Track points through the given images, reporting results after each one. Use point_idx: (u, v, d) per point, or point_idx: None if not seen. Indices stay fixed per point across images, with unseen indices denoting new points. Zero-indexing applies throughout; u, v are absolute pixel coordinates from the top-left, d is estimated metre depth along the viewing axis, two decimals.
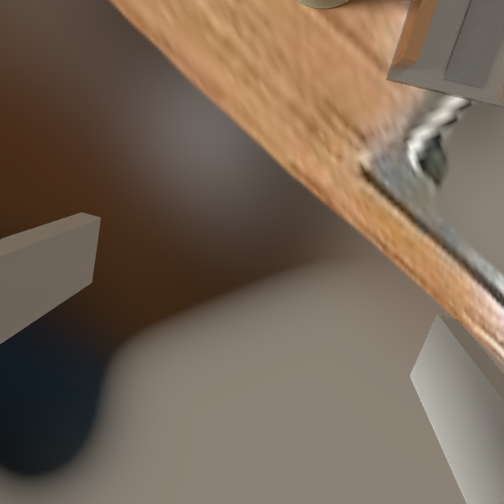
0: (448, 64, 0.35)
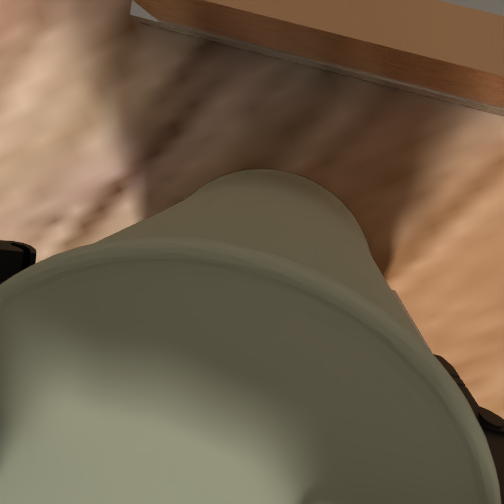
0: None
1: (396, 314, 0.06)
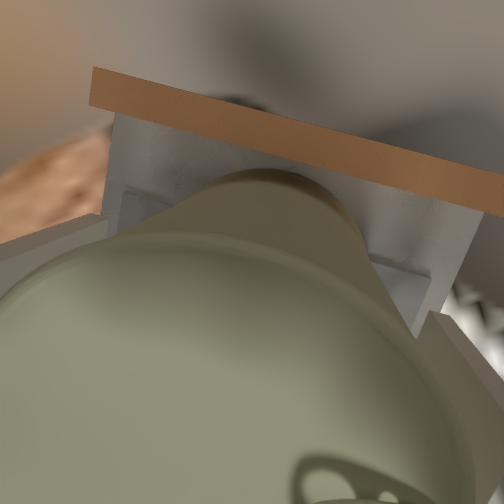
0: None
1: (382, 301, 0.06)
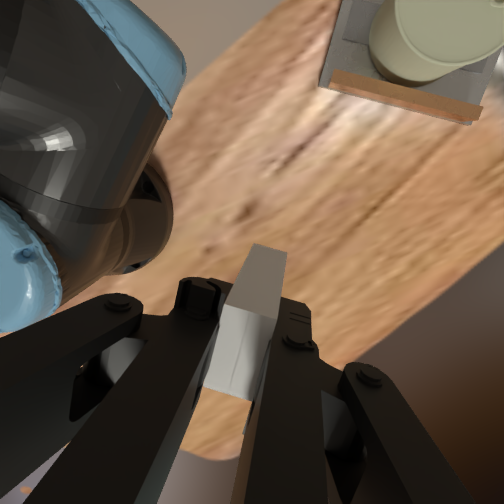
0: (468, 70, 0.39)
1: None
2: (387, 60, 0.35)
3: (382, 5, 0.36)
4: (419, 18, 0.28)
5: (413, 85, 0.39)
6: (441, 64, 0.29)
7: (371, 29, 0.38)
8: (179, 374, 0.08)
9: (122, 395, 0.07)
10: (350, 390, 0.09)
